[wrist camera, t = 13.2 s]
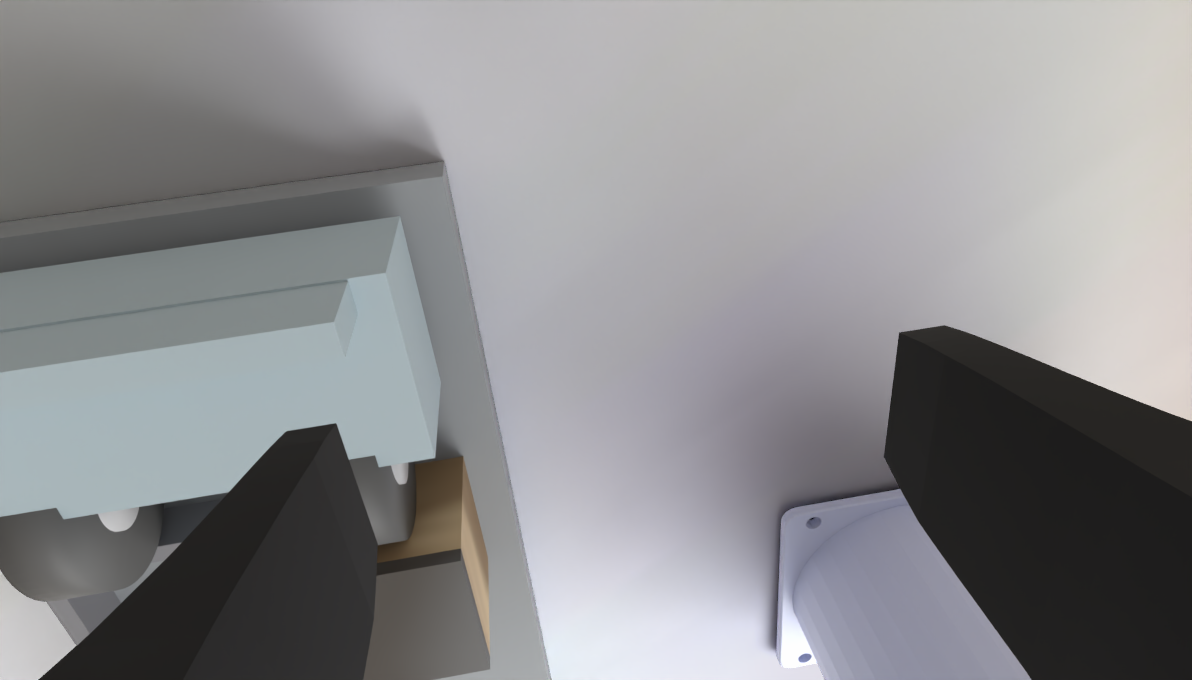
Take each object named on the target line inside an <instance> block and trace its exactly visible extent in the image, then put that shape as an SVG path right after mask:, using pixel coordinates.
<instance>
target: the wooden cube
mask: <svg viewBox="0 0 1192 680" xmlns="http://www.w3.org/2000/svg"><path fill="white" fill-rule="evenodd" d="M415 472H416V516H415V524H414V528H413V532H412V535H411V536H410V538H409V539H408V540H406V541H400V542H395V543H389V544H383V545H378V550H377V575H376V594H375V610H374V621H373V627H372V633H371V639H370V645H369V650H368V656H367V662H366V667H365V673H364V679H363V680H436V679H441V678H446V677H452V676H457V675H463V674H468V673H473V672H479V671H484V670H489V669H490V630H489V574H488V555H487V551H486V547H485V543H484V539H483V535H482V531H481V527H480V523H479V519H478V514H477V510H476V506H475V502H474V498H473V494H472V490H471V486H470V482H469V478H468V474H467V470H466V466H465V461H464V457H463V456H462V457H456V458H450V459H444V460H438V461H432V462H426V463H420V464H415Z"/></svg>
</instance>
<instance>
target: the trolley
mask: <svg viewBox="0 0 1192 680" xmlns="http://www.w3.org/2000/svg"><path fill="white" fill-rule="evenodd" d="M440 388H441V381H440V376H439V372H438V368H437V364H436V360H435V356H434V352H433V348H432V344H431V340H430V336H429V332H428V328H427V324H426V320H425V316H424V311H423V307H422V303H421V299H420V295H419V291H418V287H417V283H416V279H415V275H414V271H413V267H412V263H411V259H410V255H409V251H408V247H407V242H406V238H405V234H404V230H403V226H402V222H401V218H400V216H397V217H390V218H383V219H376V220H369V221H362V222H355V223H347V224H340V225H333V226H326V227H319V228H312V229H305V230H298V231H291V232H284V233H277V234H270V235H263V236H256V237H249V238H242V239H235V240H228V241H221V242H214V243H207V244H200V245H193V246H186V247H179V248H172V249H165V250H158V251H151V252H144V253H137V254H130V255H123V256H116V257H109V258H102V259H95V260H88V261H81V262H74V263H67V264H60V265H53V266H46V267H39V268H32V269H25V270H18V271H11V272H4V273H0V570H1V571H2V573H3V574H4V576H5V577H6V579H7V580H8V581H9V582H10V583H11V585H12V586H14V587H15V588H16V589H17V590H18V591H19V592H21V593H22V594H24V595H26V596H27V597H29V598H32V599H34V600H38V601H44V602H48V601H58V600H64V599H69V598H75V597H81V596H87V595H93V594H98V593H104V592H110V591H116V590H120V589H124V588H126V587H129V586H131V585H132V584H133V583H135V582H136V581H137V580H138V579H139V578H140V577H141V576H142V575H143V574H144V573H145V571H146V570H147V569H148V567H149V565H150V563H151V562H152V559H153V557H154V555H155V553H156V550H157V547H158V544H159V540H160V536H161V531H162V525H163V515H164V503H166V502H172V501H178V500H184V499H190V498H196V497H202V496H208V495H215V494H221V493H227V492H229V491H230V490H231V489H232V488H233V487H234V486H235V485H236V484H237V483H238V482H239V480H240V479H241V478H242V477H243V476H244V475H245V474H246V473H247V472H248V471H249V469H250V468H251V467H252V466H253V465H254V464H255V463H256V462H257V461H258V460H259V459H260V457H261V456H262V455H263V454H264V453H265V452H266V451H267V450H268V449H269V448H270V447H271V446H272V445H273V444H274V443H275V442H276V441H277V440H278V439H279V438H280V437H281V436H282V435H283V434H284V433H285V432H286V431H290V430H297V429H303V428H309V427H315V426H322V425H328V424H334V423H336V424H337V427H338V430H339V432H340V435H341V438H342V441H343V444H344V447H345V450H346V453H347V456H348V459H349V462H350V464H351V467H352V470H353V473H354V476H355V479H356V482H357V485H358V488H359V491H360V494H361V497H362V499H363V502H364V505H365V508H366V511H367V514H368V517H369V520H370V523H371V526H372V529H373V531H374V534H375V537H376V540H377V543H378V545H383V544H389V543H395V542H400V541H406V540H408V539H409V538H410V536H411V535H412V532H413V528H414V524H415V516H416V472H415V461H420V460H426V459H432V458H435V454H436V441H437V428H438V415H439V401H440Z"/></svg>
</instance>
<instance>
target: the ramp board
mask: <svg viewBox="0 0 1192 680" xmlns="http://www.w3.org/2000/svg"><path fill="white" fill-rule="evenodd" d="M397 216H400V218H401V222H402V226H403V230H404V234H405V238H406V242H407V247H408V251H409V255H410V259H411V263H412V267H413V271H414V275H415V279H416V283H417V287H418V291H419V295H420V299H421V303H422V307H423V311H424V316H425V320H426V324H427V328H428V332H429V336H430V340H431V344H432V348H433V352H434V356H435V360H436V364H437V368H438V372H439V376H440V381H441V388H440V401H439V415H438V428H437V441H436V454H435V458H432V459H426V460H420V461H415V464H420V463H426V462H432V461H438V460H444V459H450V458H456V457H462V456H463V457H464V461H465V466H466V470H467V474H468V478H469V482H470V486H471V490H472V494H473V498H474V502H475V506H476V510H477V514H478V519H479V523H480V527H481V531H482V535H483V539H484V543H485V547H486V551H487V555H488V574H489V630H490V669H489V670H484V671H479V672H473V673H468V674H463V675H457V676H452V677H446V678H441V679H436V680H551V676H550V671H549V666H548V661H547V656H546V652H545V647H544V642H543V637H542V632H541V627H540V622H539V618H538V613H537V608H536V603H535V598H534V593H533V588H532V584H531V579H530V574H529V569H528V564H527V559H526V555H525V550H524V545H523V540H522V535H521V530H520V525H519V521H518V516H517V511H516V506H515V501H514V496H513V491H512V487H511V482H510V477H509V472H508V467H507V462H506V457H505V453H504V448H503V443H502V438H501V433H500V428H499V424H498V419H497V414H496V409H495V404H494V399H493V394H492V390H491V385H490V380H489V375H488V370H487V365H486V360H485V356H484V351H483V346H482V341H481V336H480V331H479V327H478V322H477V317H476V312H475V307H474V302H473V297H472V293H471V288H470V283H469V278H468V273H467V268H466V263H465V259H464V254H463V249H462V244H461V239H460V234H459V230H458V225H457V220H456V215H455V210H454V205H453V200H452V196H451V191H450V186H449V181H448V176H447V171H446V166H445V162H444V161H442V162H435V163H428V164H420V165H413V166H406V167H399V168H391V169H384V170H377V171H370V172H362V173H355V174H348V175H341V176H333V177H326V178H319V179H312V180H304V181H297V182H290V183H283V184H275V185H268V186H261V187H254V188H247V189H239V190H232V191H225V192H218V193H210V194H203V195H196V196H189V197H181V198H174V199H167V200H160V201H152V202H145V203H138V204H131V205H123V206H116V207H109V208H102V209H94V210H87V211H80V212H73V213H66V214H58V215H51V216H44V217H37V218H29V219H22V220H15V221H8V222H0V273H4V272H11V271H18V270H25V269H32V268H39V267H46V266H53V265H60V264H67V263H74V262H81V261H88V260H95V259H102V258H109V257H116V256H123V255H130V254H137V253H144V252H151V251H158V250H165V249H172V248H179V247H186V246H193V245H200V244H207V243H214V242H221V241H228V240H235V239H242V238H249V237H256V236H263V235H270V234H277V233H284V232H291V231H298V230H305V229H312V228H319V227H326V226H333V225H340V224H347V223H355V222H362V221H369V220H376V219H383V218H390V217H397ZM227 494H228V492H227V493H221V494H215V495H208V496H202V497H196V498H190V499H184V500H178V501H172V502H166V503H164V515H163V525H162V531H161V536H160V540H159V544H158V547H157V550H156V553H155V555H154V557H153V559H152V562H151V563H150V565H149V567H148V569H147V570H146V571H145V573H144V574H143V575H142V576H141V577H140V578H139V579H138V580H137V581H136V582H135V583H133V584H132V585H131V586H129V587H126V588H124V589H120V590H116V591H110V592H104V593H98V594H93V595H87V596H81V597H75V598H69V599H64V600H58V601H48V602H47V603H48V605H49V606H50V608H51V609H52V611H53V612H54V614H55V615H56V616H57V618H58V619H59V621H60V622H61V624H62V625H63V627H64V628H65V629H66V631H67V632H68V634H69V635H70V637H71V638H72V640H73V641H74V642H75V644H76V645H78V644H79V643H80V642H81V641H82V640H83V639H85V638H86V637H87V636H88V635H89V634H90V633H91V632H92V631H93V630H94V629H95V628H96V627H97V626H98V625H99V624H100V623H101V622H102V621H103V620H104V619H105V618H107V617H108V616H109V615H110V614H111V613H112V612H113V611H114V610H115V609H116V608H117V607H118V606H119V605H120V604H121V603H122V602H123V601H124V600H125V599H126V598H127V597H128V596H129V595H130V594H131V593H132V592H133V591H134V590H135V589H136V588H137V587H138V586H139V585H140V584H141V583H142V582H143V581H144V580H145V579H146V578H147V577H148V576H149V575H150V574H151V573H152V572H153V571H154V570H155V569H156V568H157V567H158V566H159V565H160V564H161V563H162V562H163V561H164V560H165V559H166V558H167V557H168V556H169V555H170V554H171V553H172V552H173V551H174V550H175V549H176V548H177V547H178V546H179V545H180V544H181V543H182V542H183V541H184V540H185V539H186V538H187V536H188V535H189V534H190V533H191V532H192V531H193V530H194V529H195V528H196V527H197V526H198V525H199V524H200V523H201V521H202V520H203V519H204V518H205V517H206V516H207V515H208V514H209V513H210V512H211V511H212V510H213V509H214V508H215V507H216V505H217V504H218V503H219V502H220V501H221V500H222V499H223V498H224V497H225V496H226V495H227Z"/></svg>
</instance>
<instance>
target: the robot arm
mask: <svg viewBox="0 0 1192 680" xmlns="http://www.w3.org/2000/svg"><path fill="white" fill-rule="evenodd" d="M884 458H885V460H886V462H887V464H888V466H889V468H890V470H891V471H892V473H893V475H894V477H895V479H896V481H897V483H898V485H899V487H900V489H897V490H891V491H886V492H880V493H874V494H869V495H863V496H857V497H851V498H846V499H840V500H834V501H829V502H823V503H817V504H812V505H806V506H800V507H795V508H792V509H790V510H788V511H787V512H785V514H784V515H783V516H782V519H781V536H780V564H779V592H778V620H777V648H776V656H777V659H778V661H779V664H780V665H781V666H782V667H785V668H794V667H799V666H804V665H810V664H815V663H817V664H818V666H819V668H820V671H821V673H822V675H823V677H824V679H825V680H1192V421H1189V420H1186V419H1184V418H1181V417H1178V416H1175V415H1172V414H1170V413H1167V412H1164V411H1162V410H1159V409H1157V408H1154V407H1151V406H1149V405H1146V404H1144V403H1141V402H1138V401H1136V400H1133V399H1131V398H1128V397H1126V396H1123V395H1121V394H1118V393H1116V392H1113V391H1111V390H1108V389H1106V388H1103V387H1101V386H1098V385H1096V384H1093V383H1091V382H1088V381H1086V380H1083V379H1081V378H1079V377H1076V376H1074V375H1071V374H1069V373H1066V372H1064V371H1062V370H1059V369H1057V368H1054V367H1052V366H1049V365H1047V364H1045V363H1042V362H1040V361H1037V360H1035V359H1033V358H1030V357H1028V356H1025V355H1023V354H1020V353H1018V352H1016V351H1013V350H1011V349H1008V348H1006V347H1003V346H1001V345H998V344H996V343H993V342H991V341H988V340H985V339H983V338H980V337H977V336H975V335H972V334H969V333H966V332H964V331H961V330H957V329H954V328H951V327H948V326H938V327H932V328H926V329H920V330H913V331H907V332H901V333H899V339H898V347H897V355H896V363H895V371H894V380H893V388H892V396H891V404H890V412H889V420H888V428H887V436H886V444H885V453H884ZM813 517H815V518H814V519H812V520H809V519H810V518H813ZM808 520H809V521H808ZM377 550H378V543H377V540H376V537H375V534H374V531H373V529H372V526H371V523H370V520H369V517H368V514H367V511H366V508H365V505H364V502H363V499H362V497H361V494H360V491H359V488H358V485H357V482H356V479H355V476H354V473H353V470H352V467H351V464H350V462H349V459H348V456H347V453H346V450H345V447H344V444H343V441H342V438H341V435H340V432H339V430H338V427H337V424H336V423H334V424H328V425H322V426H315V427H309V428H303V429H297V430H290V431H286V432H285V433H284V434H283V435H282V436H281V437H280V438H279V439H278V440H277V441H276V442H275V443H274V444H273V445H272V446H271V447H270V448H269V449H268V450H267V451H266V452H265V453H264V454H263V455H262V456H261V457H260V459H259V460H258V461H257V462H256V463H255V464H254V465H253V466H252V467H251V468H250V469H249V471H248V472H247V473H246V474H245V475H244V476H243V477H242V478H241V479H240V480H239V482H238V483H237V484H236V485H235V486H234V487H233V488H232V489H231V490H230V491H229V492H228V494H227V495H226V496H225V497H224V498H223V499H222V500H221V501H220V502H219V503H218V504H217V505H216V507H215V508H214V509H213V510H212V511H211V512H210V513H209V514H208V515H207V516H206V517H205V518H204V519H203V520H202V521H201V523H200V524H199V525H198V526H197V527H196V528H195V529H194V530H193V531H192V532H191V533H190V534H189V535H188V536H187V538H186V539H185V540H184V541H183V542H182V543H181V544H180V545H179V546H178V547H177V548H176V549H175V550H174V551H173V552H172V553H171V554H170V555H169V556H168V557H167V558H166V559H165V560H164V561H163V562H162V563H161V564H160V565H159V566H158V567H157V568H156V569H155V570H154V571H153V572H152V573H151V574H150V575H149V576H148V577H147V578H146V579H145V580H144V581H143V582H142V583H141V584H140V585H139V586H138V587H137V588H136V589H135V590H134V591H133V592H132V593H131V594H130V595H129V596H128V597H127V598H126V599H125V600H124V601H123V602H122V603H121V604H120V605H119V606H118V607H117V608H116V609H115V610H114V611H113V612H112V613H111V614H110V615H109V616H108V617H107V618H105V619H104V620H103V621H102V622H101V623H100V624H99V625H98V626H97V627H96V628H95V629H94V630H93V631H92V632H91V633H90V634H89V635H88V636H87V637H86V638H85V639H83V640H82V641H81V642H80V643H79V644H78V645H77V646H76V647H75V648H74V649H73V650H71V651H70V652H69V653H68V654H67V655H66V656H65V657H64V658H63V659H61V660H60V661H59V662H58V663H57V664H56V665H55V666H54V667H52V668H51V669H50V670H49V671H48V672H47V673H46V674H45V675H43V676H42V677H41V678H40V679H39V680H363V679H364V673H365V667H366V662H367V656H368V650H369V645H370V639H371V633H372V627H373V621H374V610H375V594H376V575H377Z"/></svg>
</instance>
